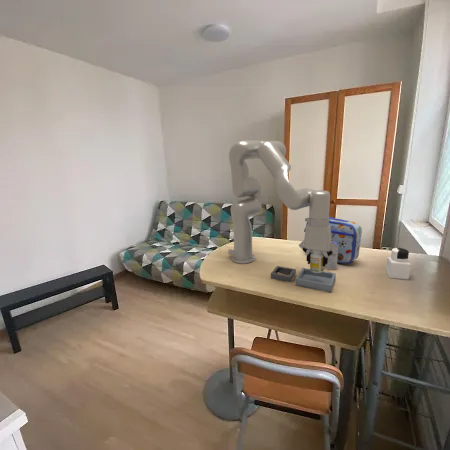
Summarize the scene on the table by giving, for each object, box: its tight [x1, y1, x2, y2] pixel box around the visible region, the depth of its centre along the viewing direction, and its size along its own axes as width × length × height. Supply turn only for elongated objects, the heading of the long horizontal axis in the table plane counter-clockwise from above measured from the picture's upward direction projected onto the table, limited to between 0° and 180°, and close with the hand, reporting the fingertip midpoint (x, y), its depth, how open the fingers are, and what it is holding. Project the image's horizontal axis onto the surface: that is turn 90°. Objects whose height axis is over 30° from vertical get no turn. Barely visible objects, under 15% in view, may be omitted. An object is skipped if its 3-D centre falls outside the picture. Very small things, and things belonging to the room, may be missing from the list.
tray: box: [295, 267, 337, 293], centre depth 110 cm, size 14×12×3 cm
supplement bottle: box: [309, 250, 325, 273], centre depth 108 cm, size 5×5×10 cm
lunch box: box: [303, 216, 363, 265], centre depth 132 cm, size 28×10×22 cm, turn 42°
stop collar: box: [269, 265, 297, 283], centre depth 117 cm, size 9×9×2 cm
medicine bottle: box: [385, 247, 412, 280], centre depth 112 cm, size 7×7×12 cm
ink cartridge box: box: [322, 241, 338, 270], centre depth 123 cm, size 10×6×14 cm, turn 78°
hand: (316, 263), depth 108 cm, fingers closed on supplement bottle, 5 cm apart
